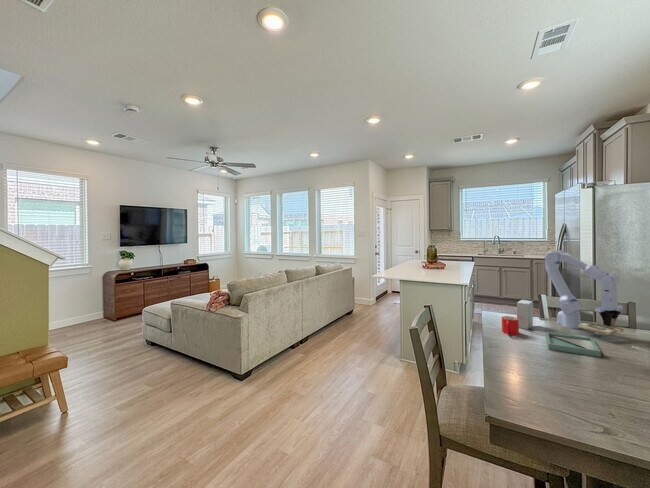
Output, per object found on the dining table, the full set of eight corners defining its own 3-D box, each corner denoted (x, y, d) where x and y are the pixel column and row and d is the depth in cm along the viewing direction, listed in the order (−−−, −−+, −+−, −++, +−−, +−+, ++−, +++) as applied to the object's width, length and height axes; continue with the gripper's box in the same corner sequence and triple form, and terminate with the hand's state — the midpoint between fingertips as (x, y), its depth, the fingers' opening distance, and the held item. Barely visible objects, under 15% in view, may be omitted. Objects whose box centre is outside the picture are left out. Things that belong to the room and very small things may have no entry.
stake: (589, 334, 147) (589, 325, 147) (593, 333, 147) (593, 325, 147) (603, 338, 141) (603, 329, 141) (607, 338, 141) (607, 329, 141)
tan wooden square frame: (604, 334, 137) (604, 324, 137) (578, 326, 149) (578, 317, 149) (625, 331, 140) (625, 321, 139) (597, 323, 151) (597, 314, 151)
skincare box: (521, 324, 170) (521, 299, 170) (533, 326, 166) (533, 300, 165) (516, 327, 165) (516, 301, 165) (528, 330, 160) (528, 303, 160)
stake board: (572, 335, 150) (572, 332, 150) (596, 332, 153) (596, 329, 153) (605, 346, 136) (605, 343, 136) (630, 342, 138) (630, 339, 138)
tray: (548, 349, 135) (548, 343, 135) (545, 336, 150) (545, 332, 150) (600, 357, 125) (600, 351, 125) (592, 343, 140) (592, 337, 140)
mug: (499, 335, 154) (499, 320, 154) (503, 329, 164) (502, 315, 163) (516, 338, 149) (516, 323, 149) (519, 331, 159) (519, 317, 158)
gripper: (606, 301, 139) (606, 329, 140) (630, 299, 142) (630, 326, 143) (590, 298, 146) (590, 324, 147) (613, 295, 149) (613, 321, 150)
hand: (609, 325), depth 145 cm, fingers closed on tan wooden square frame
